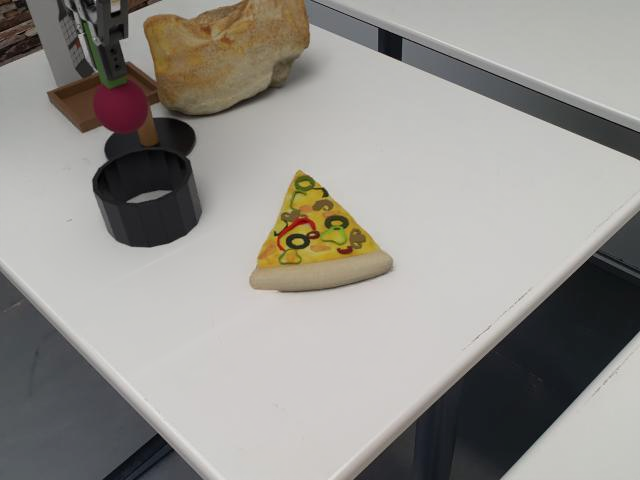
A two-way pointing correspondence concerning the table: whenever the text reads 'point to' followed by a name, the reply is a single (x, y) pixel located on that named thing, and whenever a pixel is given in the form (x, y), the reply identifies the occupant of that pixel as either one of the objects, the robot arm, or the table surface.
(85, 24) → the beet
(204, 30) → the bread loaf
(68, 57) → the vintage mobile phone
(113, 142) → the lid
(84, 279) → the table surface
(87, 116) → the tray
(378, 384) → the table surface
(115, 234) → the pot
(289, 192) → the pizza slice
